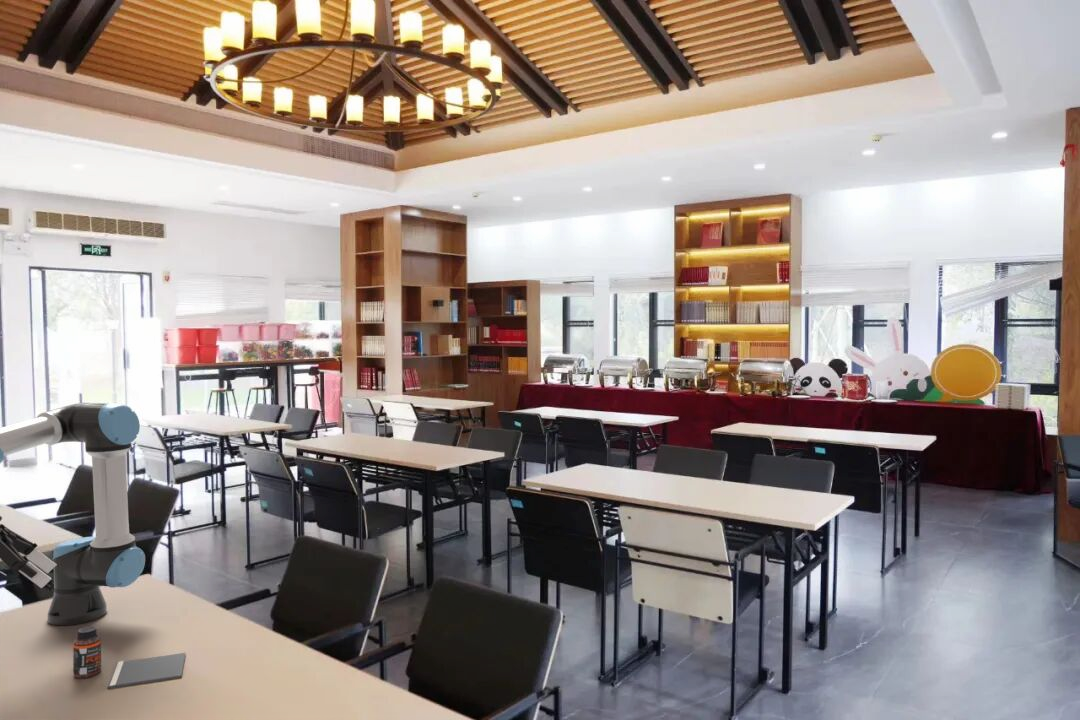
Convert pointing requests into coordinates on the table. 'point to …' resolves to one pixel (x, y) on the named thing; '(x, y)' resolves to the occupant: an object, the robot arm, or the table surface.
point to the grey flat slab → (147, 670)
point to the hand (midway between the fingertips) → (49, 576)
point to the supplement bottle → (87, 653)
